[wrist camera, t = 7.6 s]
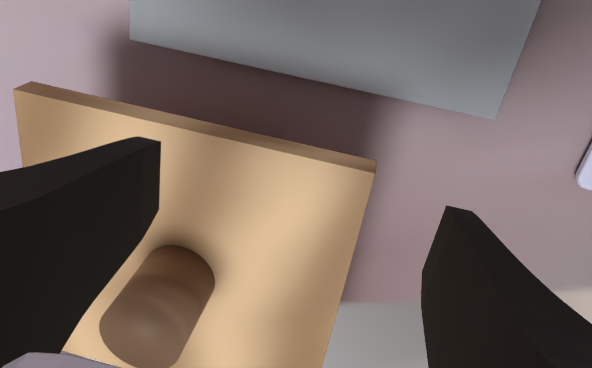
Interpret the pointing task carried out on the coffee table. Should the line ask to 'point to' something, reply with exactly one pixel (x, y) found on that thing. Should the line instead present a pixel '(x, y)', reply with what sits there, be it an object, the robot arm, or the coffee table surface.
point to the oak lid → (212, 238)
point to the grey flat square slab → (357, 43)
